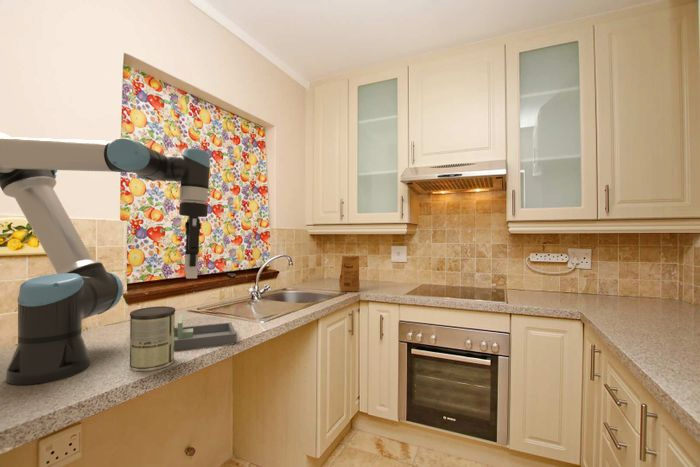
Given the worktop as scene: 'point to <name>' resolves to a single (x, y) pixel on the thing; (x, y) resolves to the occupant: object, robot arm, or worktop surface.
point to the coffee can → (151, 338)
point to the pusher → (183, 332)
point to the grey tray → (206, 336)
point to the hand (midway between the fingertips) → (190, 275)
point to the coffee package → (349, 274)
